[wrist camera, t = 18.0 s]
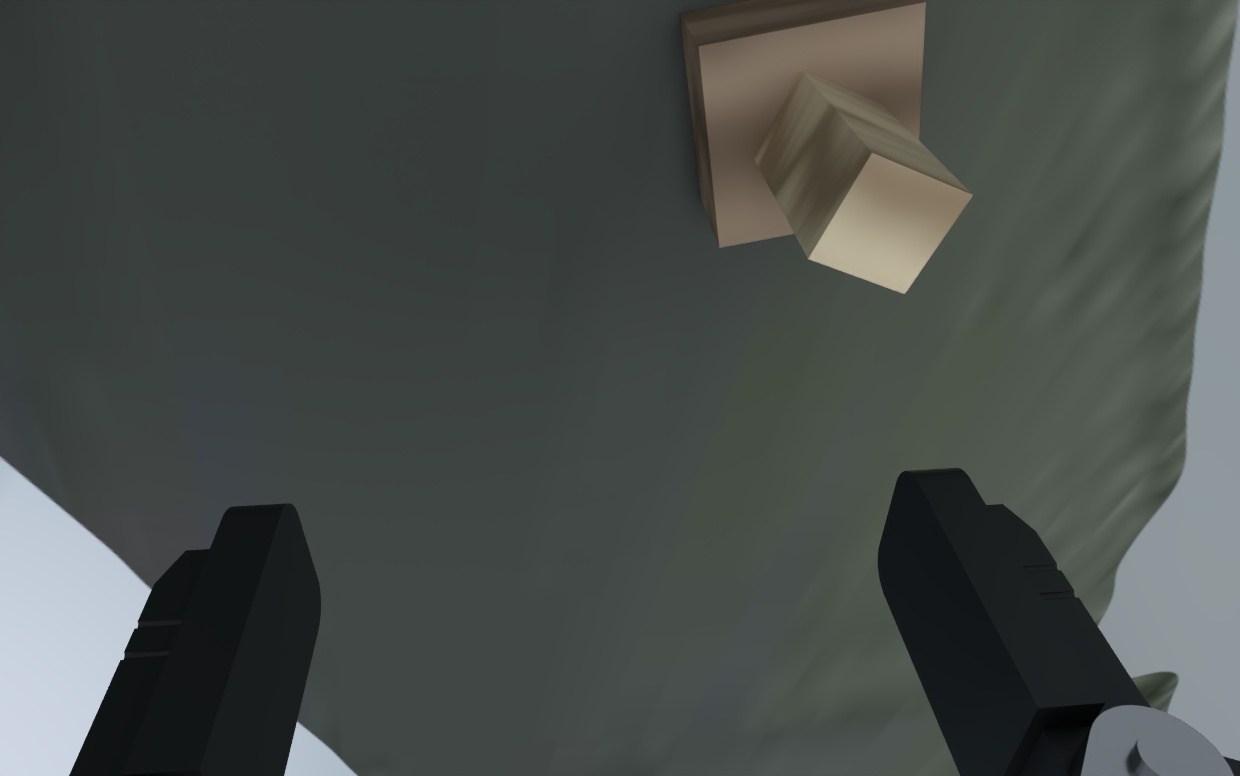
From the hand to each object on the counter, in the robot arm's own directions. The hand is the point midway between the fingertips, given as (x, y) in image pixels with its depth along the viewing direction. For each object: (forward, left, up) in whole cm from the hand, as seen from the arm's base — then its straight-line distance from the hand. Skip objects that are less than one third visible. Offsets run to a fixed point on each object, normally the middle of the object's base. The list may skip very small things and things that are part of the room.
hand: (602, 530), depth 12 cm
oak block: (+12, -6, -30) cm, 33 cm away
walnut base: (+12, -6, -36) cm, 39 cm away
